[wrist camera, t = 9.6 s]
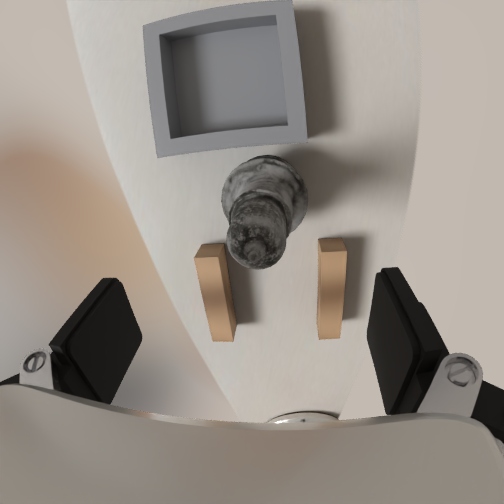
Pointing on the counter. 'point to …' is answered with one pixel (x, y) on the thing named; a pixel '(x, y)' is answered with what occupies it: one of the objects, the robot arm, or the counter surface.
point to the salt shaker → (262, 209)
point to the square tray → (225, 78)
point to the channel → (220, 296)
